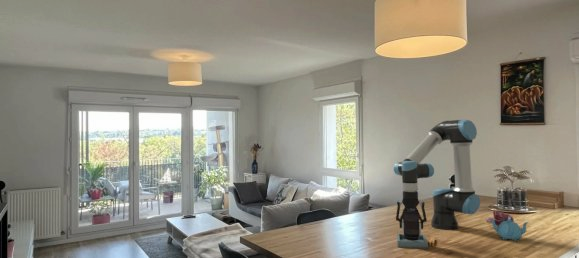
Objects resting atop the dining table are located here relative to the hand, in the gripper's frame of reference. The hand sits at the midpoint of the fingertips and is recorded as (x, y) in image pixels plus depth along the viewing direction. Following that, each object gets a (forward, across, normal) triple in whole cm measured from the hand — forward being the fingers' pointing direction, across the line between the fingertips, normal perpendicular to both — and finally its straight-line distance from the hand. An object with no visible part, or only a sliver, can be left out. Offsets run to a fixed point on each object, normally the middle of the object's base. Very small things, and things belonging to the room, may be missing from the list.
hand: (411, 234), depth 183 cm
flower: (+5, -52, -42) cm, 67 cm away
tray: (+5, 0, 0) cm, 5 cm away
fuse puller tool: (+5, -10, -4) cm, 12 cm away
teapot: (+5, -50, -19) cm, 54 cm away
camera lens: (+2, 0, 0) cm, 2 cm away
